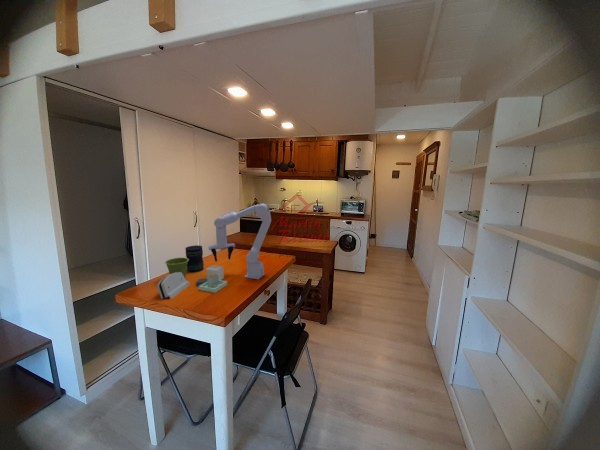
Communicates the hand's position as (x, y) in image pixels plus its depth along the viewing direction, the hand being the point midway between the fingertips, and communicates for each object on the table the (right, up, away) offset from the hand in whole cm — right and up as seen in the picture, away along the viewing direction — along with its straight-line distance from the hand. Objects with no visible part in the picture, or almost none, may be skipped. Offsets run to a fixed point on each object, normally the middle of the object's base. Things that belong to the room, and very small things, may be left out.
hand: (222, 260), depth 132 cm
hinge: (-19, -13, -18) cm, 29 cm away
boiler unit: (-3, -11, -4) cm, 12 cm away
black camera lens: (-21, -8, +11) cm, 25 cm away
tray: (0, -12, -14) cm, 19 cm away
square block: (-8, -12, -10) cm, 17 cm away
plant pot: (-24, -11, -4) cm, 27 cm away
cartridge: (0, -12, -14) cm, 18 cm away
